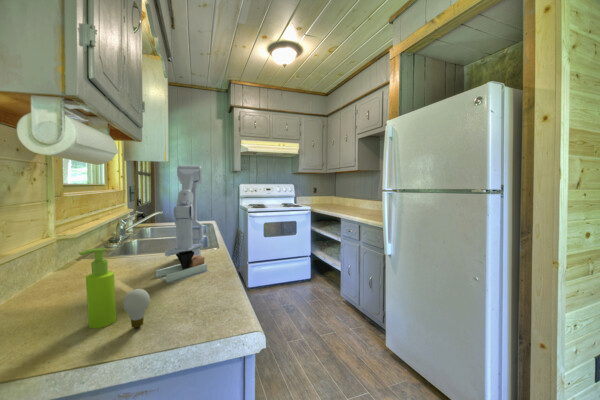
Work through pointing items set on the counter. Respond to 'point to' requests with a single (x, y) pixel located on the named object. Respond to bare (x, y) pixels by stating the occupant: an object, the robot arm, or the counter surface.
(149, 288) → the counter surface
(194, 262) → the cube
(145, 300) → the light bulb
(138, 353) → the counter surface
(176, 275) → the channel
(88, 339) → the counter surface
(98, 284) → the soap dispenser
